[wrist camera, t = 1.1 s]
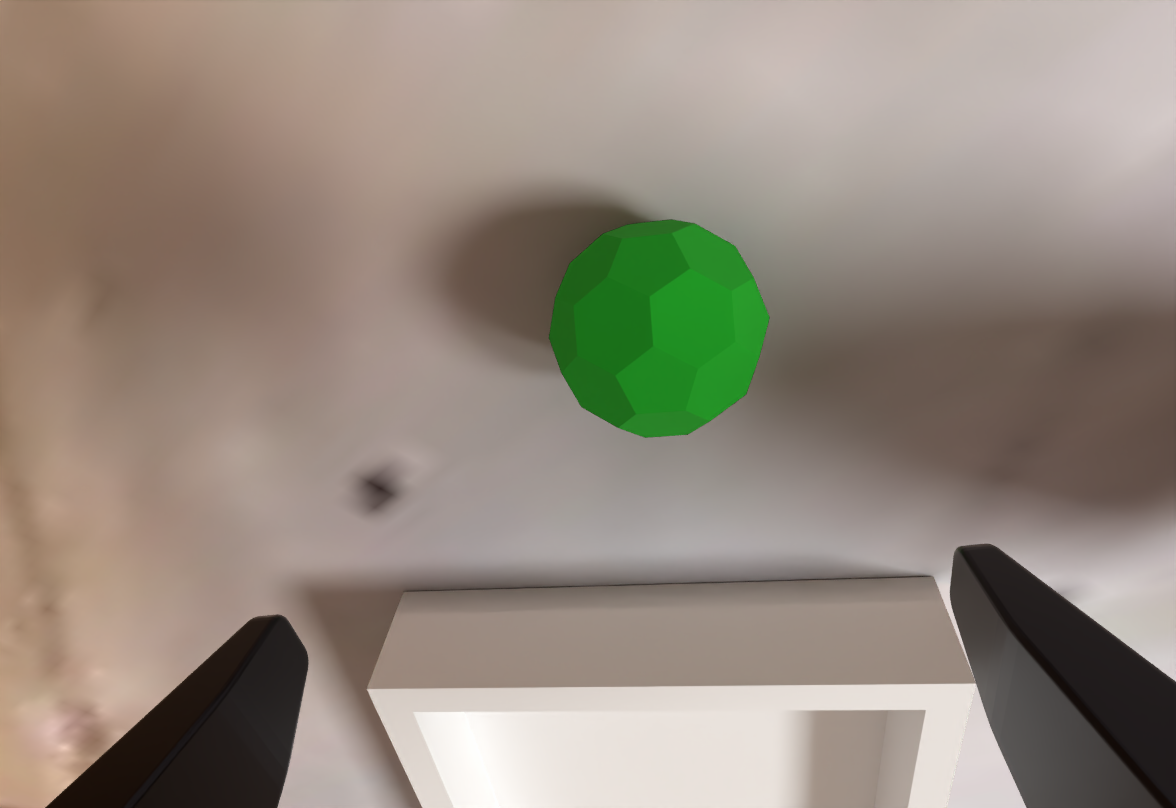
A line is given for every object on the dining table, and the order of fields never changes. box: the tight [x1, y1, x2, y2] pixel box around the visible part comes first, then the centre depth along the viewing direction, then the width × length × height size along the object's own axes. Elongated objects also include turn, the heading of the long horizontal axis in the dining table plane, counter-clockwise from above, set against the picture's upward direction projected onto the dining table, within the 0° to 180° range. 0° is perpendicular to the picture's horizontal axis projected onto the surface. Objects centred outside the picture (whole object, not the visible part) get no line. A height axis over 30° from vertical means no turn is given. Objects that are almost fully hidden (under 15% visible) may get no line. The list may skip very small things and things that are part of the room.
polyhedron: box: [549, 220, 769, 438], centre depth 17 cm, size 5×5×5 cm
